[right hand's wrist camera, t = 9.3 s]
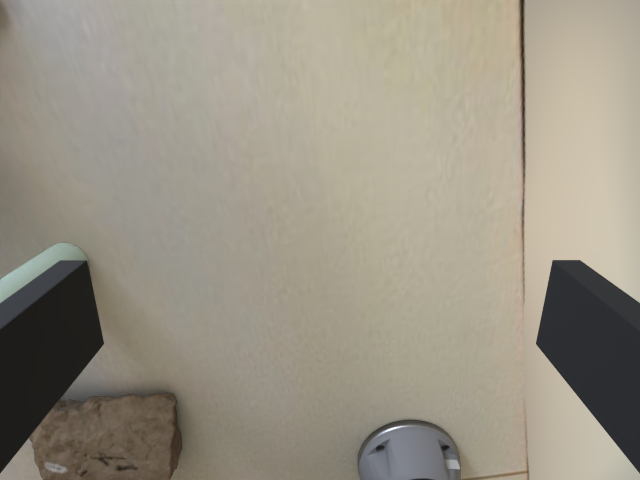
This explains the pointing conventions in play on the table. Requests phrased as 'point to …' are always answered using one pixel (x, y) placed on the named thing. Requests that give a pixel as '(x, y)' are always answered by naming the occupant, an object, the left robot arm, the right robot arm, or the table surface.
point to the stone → (109, 439)
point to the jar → (38, 267)
